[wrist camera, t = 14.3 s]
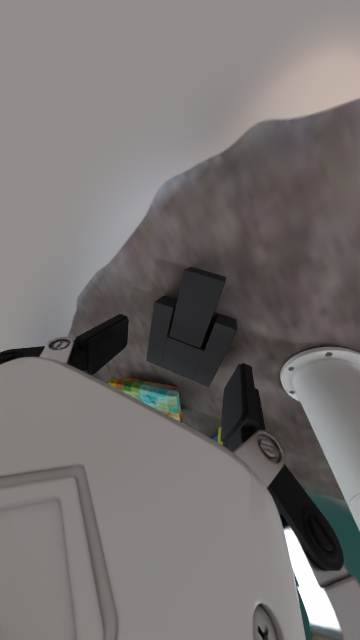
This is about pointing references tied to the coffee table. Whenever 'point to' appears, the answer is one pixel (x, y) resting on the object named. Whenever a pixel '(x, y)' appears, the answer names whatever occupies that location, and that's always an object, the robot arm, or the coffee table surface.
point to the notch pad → (188, 345)
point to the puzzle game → (152, 394)
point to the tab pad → (196, 305)
